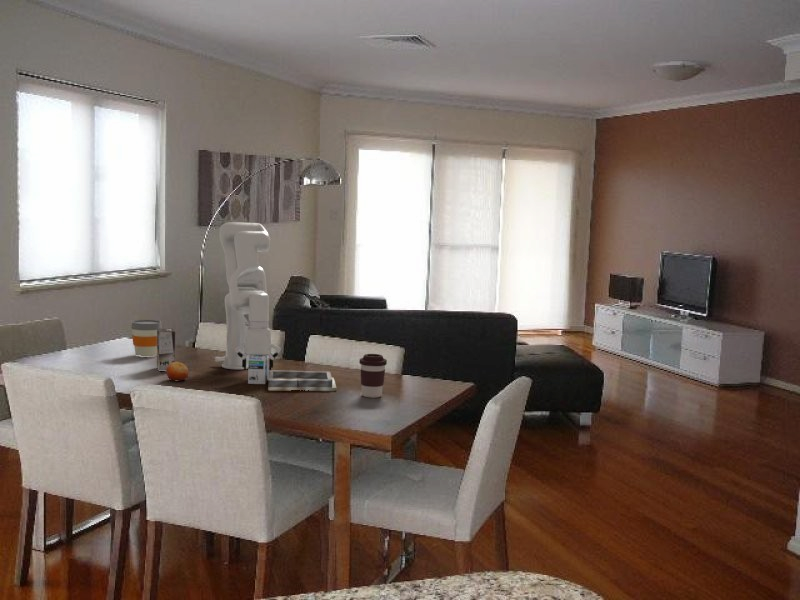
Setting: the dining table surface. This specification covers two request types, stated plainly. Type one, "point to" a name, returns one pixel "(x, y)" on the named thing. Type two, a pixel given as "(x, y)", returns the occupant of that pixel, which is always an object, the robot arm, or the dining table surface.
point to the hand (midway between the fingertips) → (257, 369)
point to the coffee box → (165, 348)
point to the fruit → (177, 371)
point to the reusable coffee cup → (145, 336)
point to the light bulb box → (257, 369)
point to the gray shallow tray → (301, 380)
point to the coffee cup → (372, 374)
